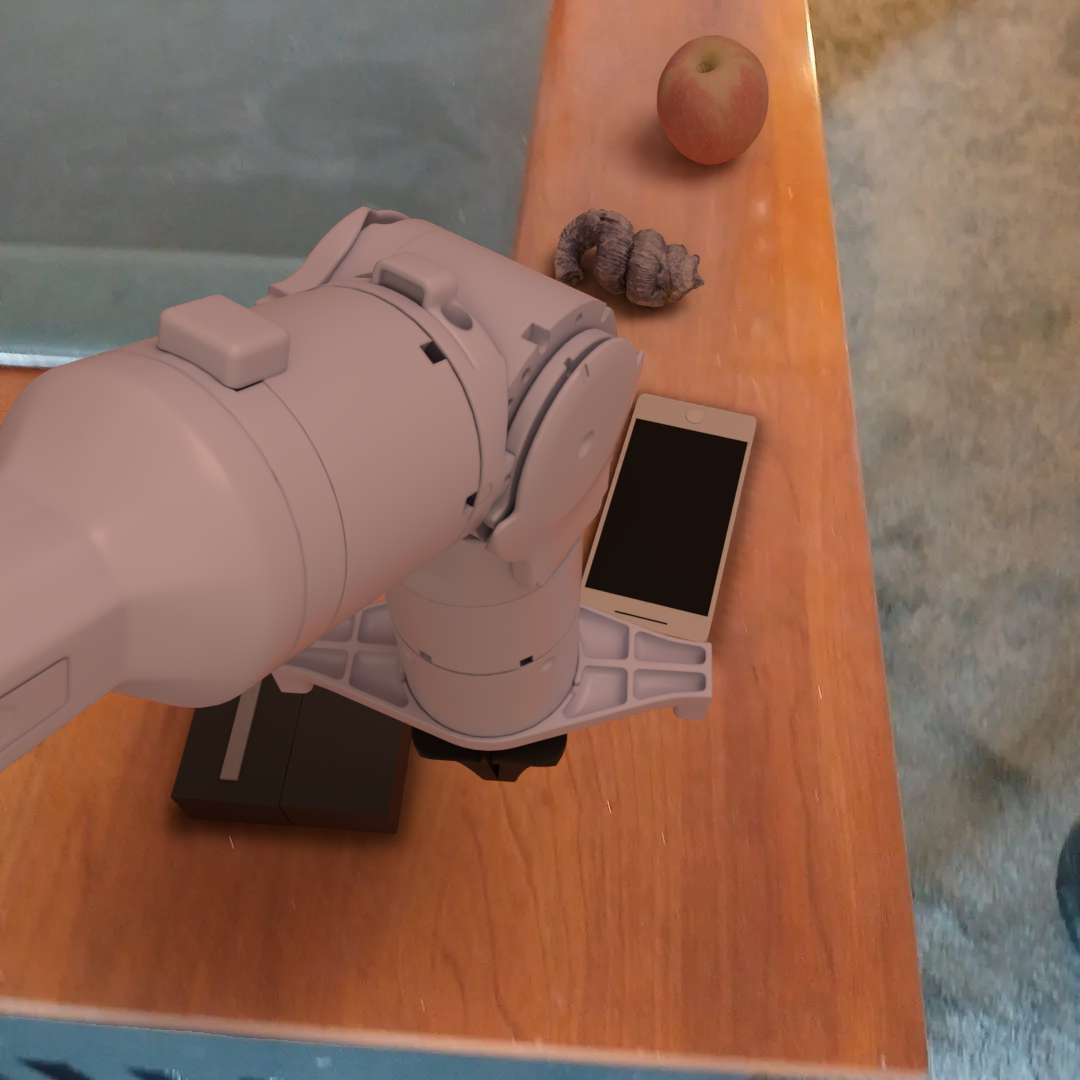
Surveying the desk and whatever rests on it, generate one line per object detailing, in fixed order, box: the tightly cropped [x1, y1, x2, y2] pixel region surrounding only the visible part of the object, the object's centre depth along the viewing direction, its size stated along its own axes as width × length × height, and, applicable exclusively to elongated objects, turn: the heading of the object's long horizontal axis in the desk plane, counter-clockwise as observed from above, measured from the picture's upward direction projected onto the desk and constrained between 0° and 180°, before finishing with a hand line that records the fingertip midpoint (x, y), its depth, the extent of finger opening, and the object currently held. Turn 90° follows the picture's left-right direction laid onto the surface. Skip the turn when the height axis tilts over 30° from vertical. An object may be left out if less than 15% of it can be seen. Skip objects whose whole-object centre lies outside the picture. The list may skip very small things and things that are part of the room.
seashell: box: [553, 208, 706, 308], centre depth 67 cm, size 5×5×10 cm
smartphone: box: [580, 392, 757, 642], centre depth 59 cm, size 7×16×1 cm, turn 164°
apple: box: [656, 34, 770, 166], centre depth 73 cm, size 8×8×8 cm
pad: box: [279, 684, 412, 835], centre depth 51 cm, size 8×5×3 cm, turn 175°
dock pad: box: [170, 673, 304, 827], centre depth 51 cm, size 8×5×3 cm, turn 175°
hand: (502, 757), depth 43 cm, fingers closed
